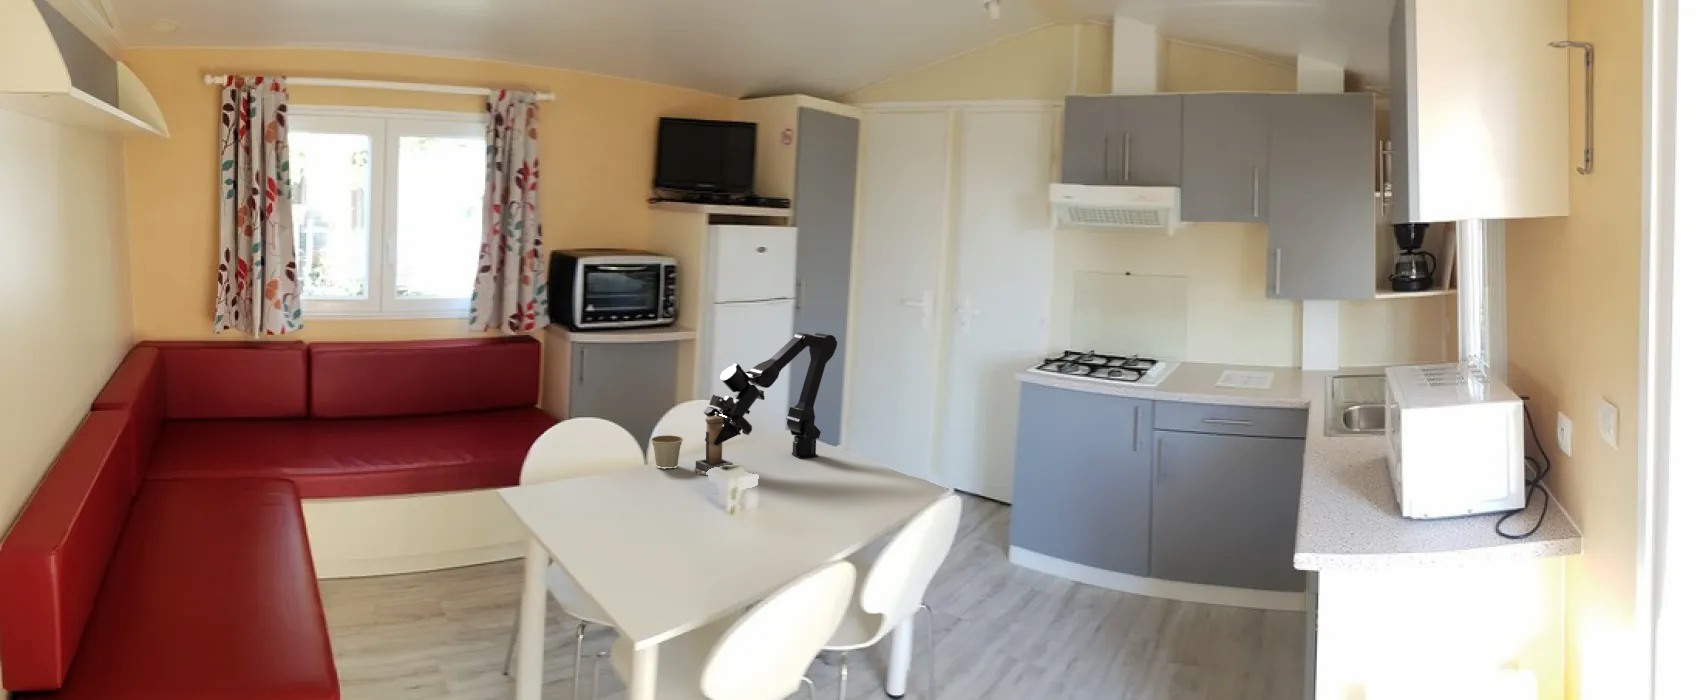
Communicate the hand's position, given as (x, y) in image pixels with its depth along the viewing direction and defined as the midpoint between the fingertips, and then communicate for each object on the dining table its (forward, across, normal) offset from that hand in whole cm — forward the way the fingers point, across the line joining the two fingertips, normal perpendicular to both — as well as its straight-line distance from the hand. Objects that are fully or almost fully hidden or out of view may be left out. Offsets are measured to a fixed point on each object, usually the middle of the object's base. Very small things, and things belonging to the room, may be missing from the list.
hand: (710, 442), depth 300 cm
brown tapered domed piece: (+4, 0, +6) cm, 7 cm away
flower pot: (+12, -12, +1) cm, 16 cm away
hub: (+5, 0, +7) cm, 9 cm away
